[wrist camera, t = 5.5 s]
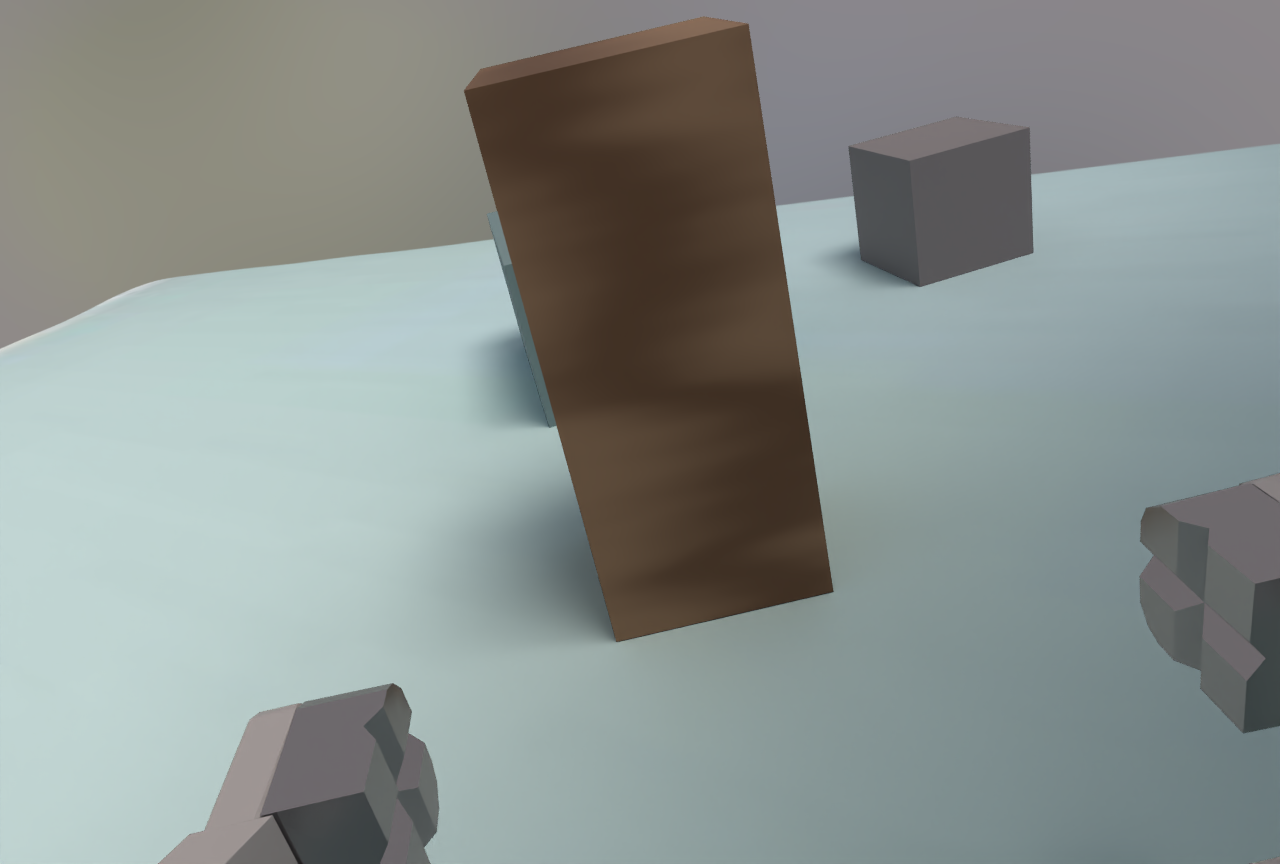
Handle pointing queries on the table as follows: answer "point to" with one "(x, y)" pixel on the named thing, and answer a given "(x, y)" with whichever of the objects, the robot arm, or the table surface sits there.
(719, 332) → the walnut block
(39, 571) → the table surface
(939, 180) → the charcoal cube
